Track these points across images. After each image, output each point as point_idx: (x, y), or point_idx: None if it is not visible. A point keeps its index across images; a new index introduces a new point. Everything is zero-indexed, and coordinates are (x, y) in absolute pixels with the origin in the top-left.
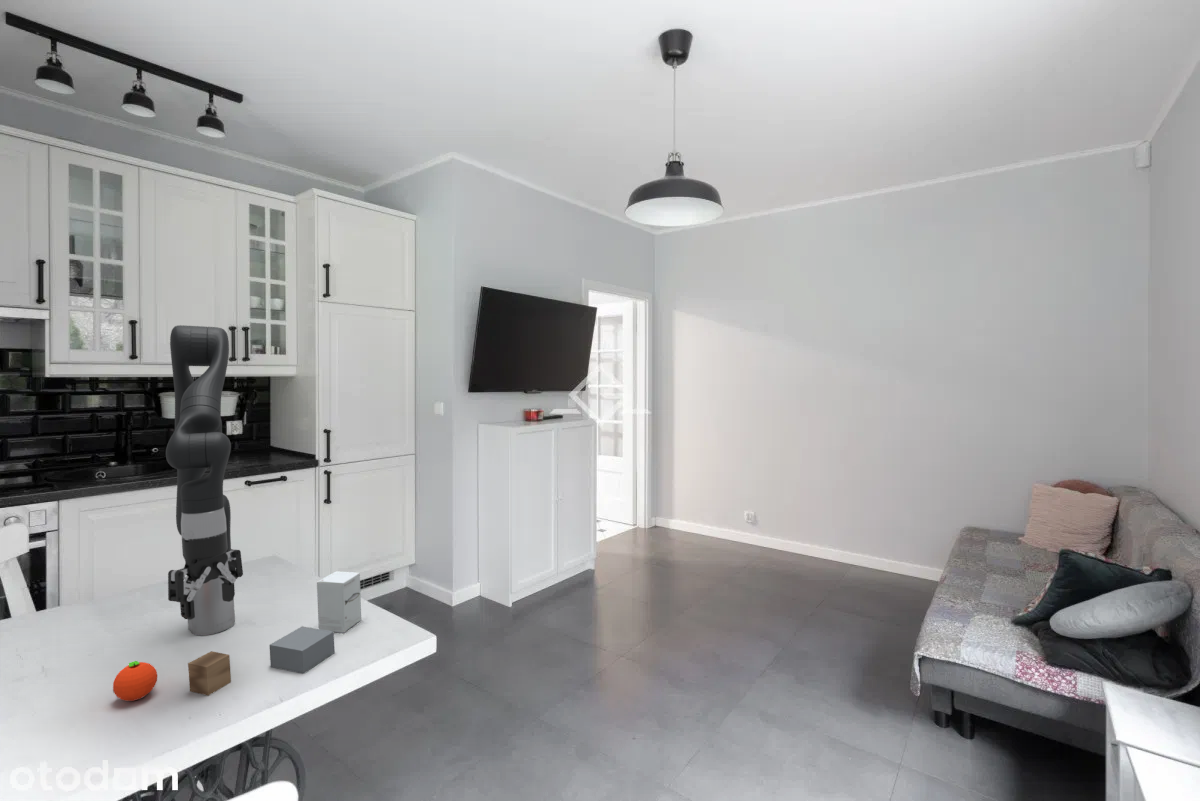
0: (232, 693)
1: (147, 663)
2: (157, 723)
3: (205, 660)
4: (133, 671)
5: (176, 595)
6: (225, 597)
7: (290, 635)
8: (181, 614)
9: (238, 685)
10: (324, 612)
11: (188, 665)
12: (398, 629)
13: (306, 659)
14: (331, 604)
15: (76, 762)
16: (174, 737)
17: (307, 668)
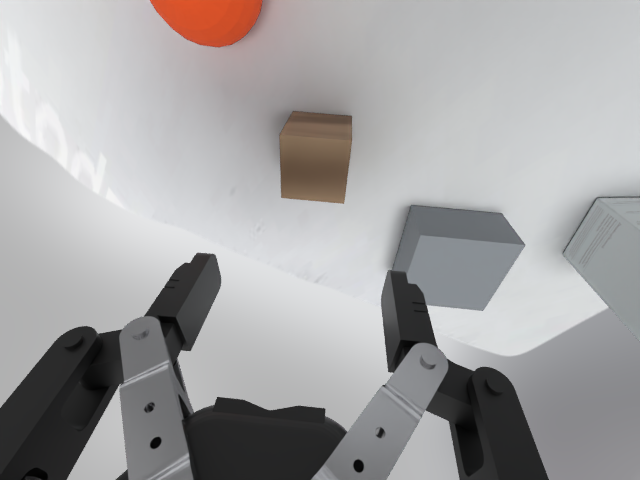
0: (312, 203)
1: None
2: (195, 149)
3: (305, 168)
4: (167, 5)
5: (69, 398)
6: (387, 292)
7: (470, 249)
8: (175, 273)
9: None
10: (622, 245)
11: (281, 133)
12: (554, 323)
13: None
14: (626, 281)
15: (65, 112)
16: (190, 210)
17: None
